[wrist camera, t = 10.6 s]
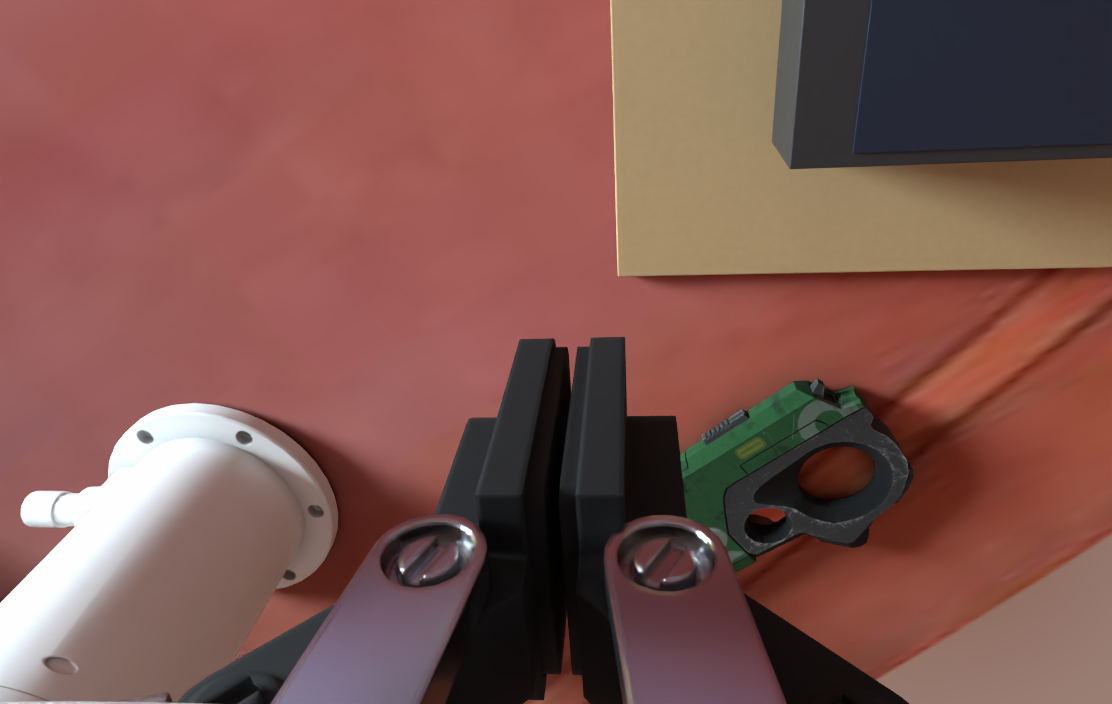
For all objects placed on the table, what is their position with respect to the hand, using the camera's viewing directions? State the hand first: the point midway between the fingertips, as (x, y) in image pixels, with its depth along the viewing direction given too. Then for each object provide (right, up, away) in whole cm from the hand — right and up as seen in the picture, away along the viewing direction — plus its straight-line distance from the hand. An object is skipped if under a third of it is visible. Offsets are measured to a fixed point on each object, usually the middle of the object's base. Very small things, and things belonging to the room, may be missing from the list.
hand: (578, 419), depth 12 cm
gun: (+9, -7, +26) cm, 28 cm away
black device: (+8, +11, +13) cm, 19 cm away
